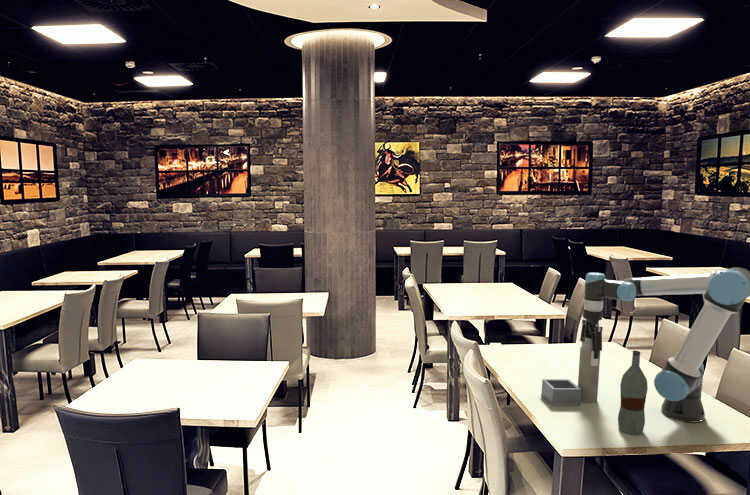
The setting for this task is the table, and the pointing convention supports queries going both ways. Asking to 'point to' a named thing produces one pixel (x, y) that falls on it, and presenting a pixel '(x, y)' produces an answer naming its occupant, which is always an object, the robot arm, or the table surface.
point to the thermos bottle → (588, 372)
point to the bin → (561, 392)
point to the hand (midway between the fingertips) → (589, 362)
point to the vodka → (633, 398)
